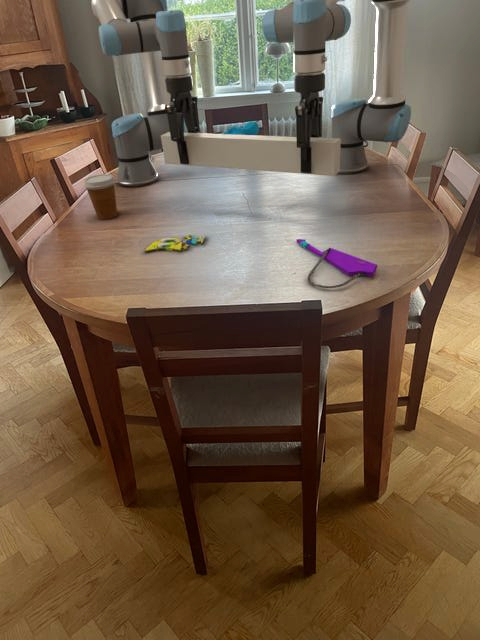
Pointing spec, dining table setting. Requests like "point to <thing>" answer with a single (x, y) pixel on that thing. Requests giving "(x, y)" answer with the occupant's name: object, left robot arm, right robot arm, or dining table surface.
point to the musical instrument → (340, 263)
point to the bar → (254, 152)
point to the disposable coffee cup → (102, 195)
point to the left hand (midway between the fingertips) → (189, 161)
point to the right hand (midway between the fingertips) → (309, 169)
